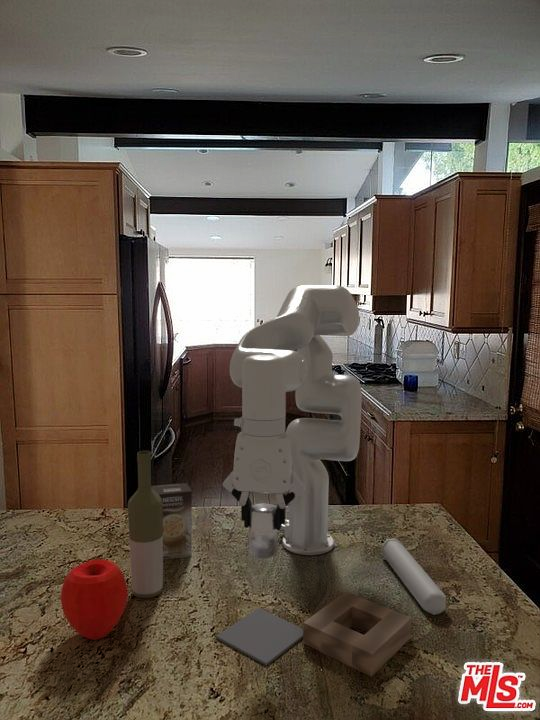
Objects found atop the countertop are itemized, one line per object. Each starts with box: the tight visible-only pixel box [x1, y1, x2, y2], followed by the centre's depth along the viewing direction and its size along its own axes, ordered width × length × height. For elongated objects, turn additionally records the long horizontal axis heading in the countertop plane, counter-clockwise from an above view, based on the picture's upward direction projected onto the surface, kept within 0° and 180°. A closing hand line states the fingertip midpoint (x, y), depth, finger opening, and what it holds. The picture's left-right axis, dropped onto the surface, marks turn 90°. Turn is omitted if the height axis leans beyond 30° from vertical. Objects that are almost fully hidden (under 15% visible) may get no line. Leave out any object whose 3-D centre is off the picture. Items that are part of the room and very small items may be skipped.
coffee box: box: [151, 482, 193, 561], centre depth 139 cm, size 9×6×16 cm
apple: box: [60, 558, 128, 640], centre depth 108 cm, size 12×12×13 cm
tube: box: [380, 538, 447, 616], centre depth 126 cm, size 5×5×25 cm
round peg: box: [248, 502, 278, 559], centre depth 105 cm, size 5×5×8 cm
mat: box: [215, 607, 303, 667], centre depth 108 cm, size 12×12×1 cm
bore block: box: [302, 591, 412, 678], centre depth 106 cm, size 14×14×4 cm
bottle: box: [127, 450, 164, 599], centre depth 121 cm, size 7×7×30 cm
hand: (263, 524), depth 105 cm, fingers closed on round peg, 5 cm apart
